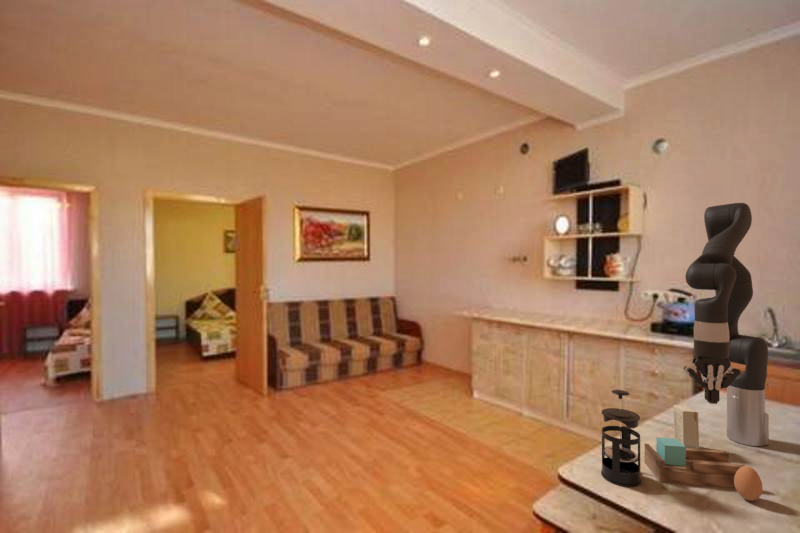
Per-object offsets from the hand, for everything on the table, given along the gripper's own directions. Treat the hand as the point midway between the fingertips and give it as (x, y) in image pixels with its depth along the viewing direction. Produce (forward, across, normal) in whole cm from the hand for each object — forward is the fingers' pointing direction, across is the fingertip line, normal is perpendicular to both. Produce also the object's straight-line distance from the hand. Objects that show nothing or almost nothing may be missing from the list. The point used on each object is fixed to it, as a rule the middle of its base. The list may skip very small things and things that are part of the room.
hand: (711, 402), depth 108 cm
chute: (+19, +5, +1) cm, 20 cm away
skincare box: (+20, -1, -16) cm, 25 cm away
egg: (+19, -2, +11) cm, 23 cm away
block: (+16, +11, +1) cm, 19 cm away
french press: (+19, +24, +5) cm, 31 cm away
